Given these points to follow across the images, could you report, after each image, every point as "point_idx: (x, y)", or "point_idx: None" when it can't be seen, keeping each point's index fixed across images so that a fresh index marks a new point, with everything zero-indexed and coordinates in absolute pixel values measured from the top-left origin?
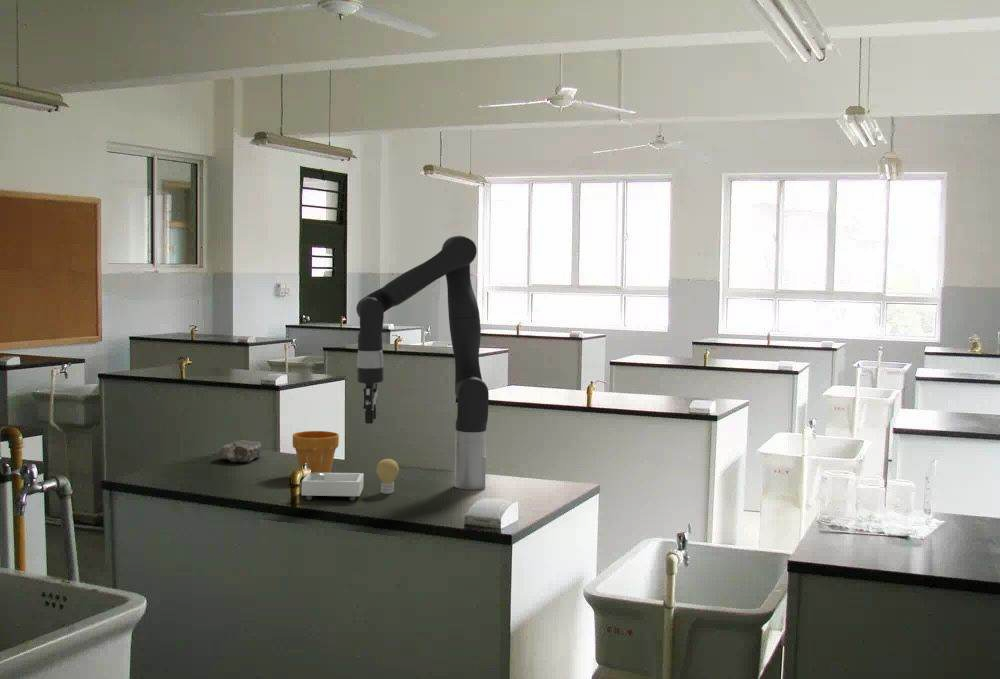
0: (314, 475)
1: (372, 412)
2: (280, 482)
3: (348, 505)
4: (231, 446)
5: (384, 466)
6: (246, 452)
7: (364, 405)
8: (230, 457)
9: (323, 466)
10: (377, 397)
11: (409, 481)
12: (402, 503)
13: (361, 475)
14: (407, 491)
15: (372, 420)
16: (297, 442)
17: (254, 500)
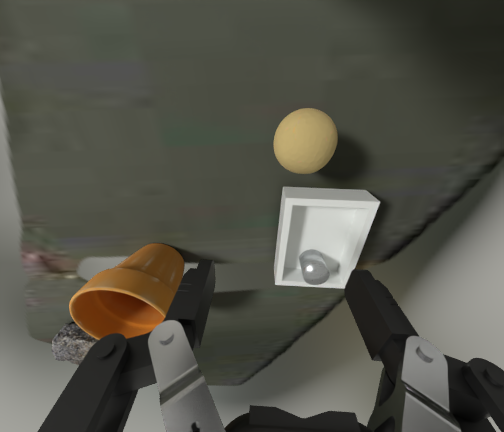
0: (327, 278)
1: (400, 324)
2: (217, 293)
3: (385, 202)
4: None
5: (332, 153)
6: None
7: (486, 424)
8: None
9: (172, 263)
10: (189, 414)
11: (166, 81)
12: (402, 92)
13: (309, 201)
14: (278, 83)
15: (372, 280)
16: None
17: (323, 308)
